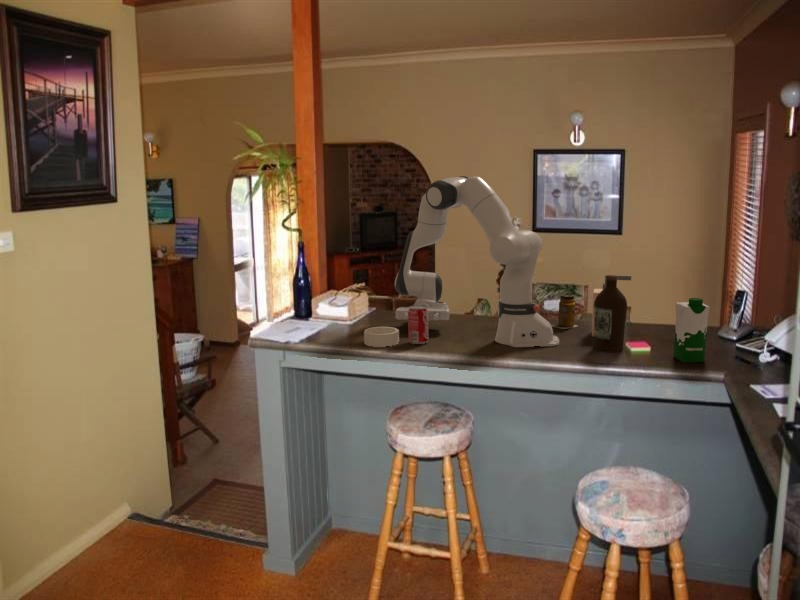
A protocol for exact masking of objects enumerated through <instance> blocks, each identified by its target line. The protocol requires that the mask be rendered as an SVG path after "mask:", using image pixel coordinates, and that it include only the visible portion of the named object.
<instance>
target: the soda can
mask: <svg viewBox="0 0 800 600" xmlns="http://www.w3.org/2000/svg"><path fill="white" fill-rule="evenodd" d="M408 307H409V311H408V320H407V327H408V329H407V331H408V335H407V336H408V342H409V344H411V345H414V344H422V345H426V344H427V343H428V342H429V340H430V339H429V335H430V334H429V333H430V332H429V321H428V310H427V307H426V306H422V305H415V306H414V305H411V306H408ZM425 343H426V344H425Z"/></svg>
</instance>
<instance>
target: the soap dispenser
mask: <svg viewBox="0 0 800 600" xmlns="http://www.w3.org/2000/svg"><path fill="white" fill-rule="evenodd" d="M607 275H608V274H605V275H604V283H602V288H594V289H593V294H592V295H593V296H592V315H591V317H592V321H591V322H592V323H591V337H594V302H595V299H596V297H597V295H598V294H599V293H600V292H601V291H602V290H603V289H604V288H605V287H606V280H607ZM616 276H617V278H616V280H617V281H632V275H621V274H619V275H617V274H616Z"/></svg>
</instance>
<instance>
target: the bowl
mask: <svg viewBox="0 0 800 600" xmlns="http://www.w3.org/2000/svg"><path fill="white" fill-rule="evenodd" d="M398 342H400V329H398V328H396V327H391V326H374V327H369V328H365V329H364V331H363V343H364V345H366V346H367V347H371V346H372V347H371V348H387V347H386V346H390V347H393V346H392V345H395V346H397V345H398V344H399V343H398ZM396 344H397V345H396Z"/></svg>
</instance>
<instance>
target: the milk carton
mask: <svg viewBox="0 0 800 600" xmlns="http://www.w3.org/2000/svg"><path fill="white" fill-rule="evenodd" d="M710 307H711V306H709V305H707V304H705V303H704V299H703V298H700V297H690V298H689V299H688V302H687V301H685V302H684V301H682V302H675V327H674V328H675V329H674V345H673V357H674V359H676V360H678V361H680V362H681V363H705V360H706V359H705V357H706V345H707V335H708V334H707V333H708V321H709V319H708V317H709V313H710Z"/></svg>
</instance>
